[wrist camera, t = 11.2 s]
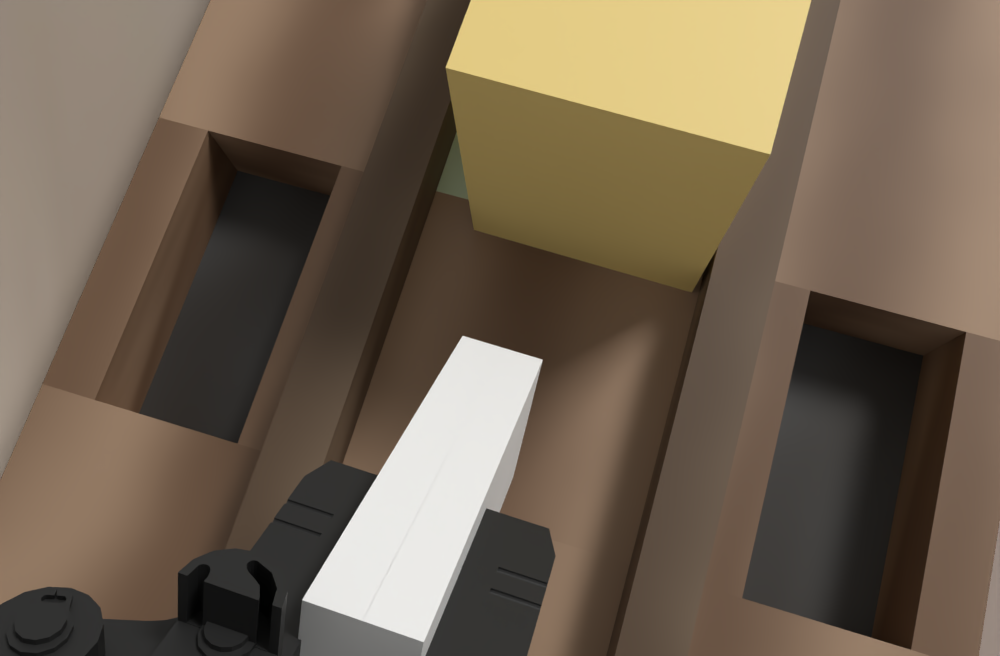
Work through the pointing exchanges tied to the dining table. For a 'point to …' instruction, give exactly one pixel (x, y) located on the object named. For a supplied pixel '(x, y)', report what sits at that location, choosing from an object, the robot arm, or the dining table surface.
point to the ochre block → (620, 123)
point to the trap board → (551, 342)
